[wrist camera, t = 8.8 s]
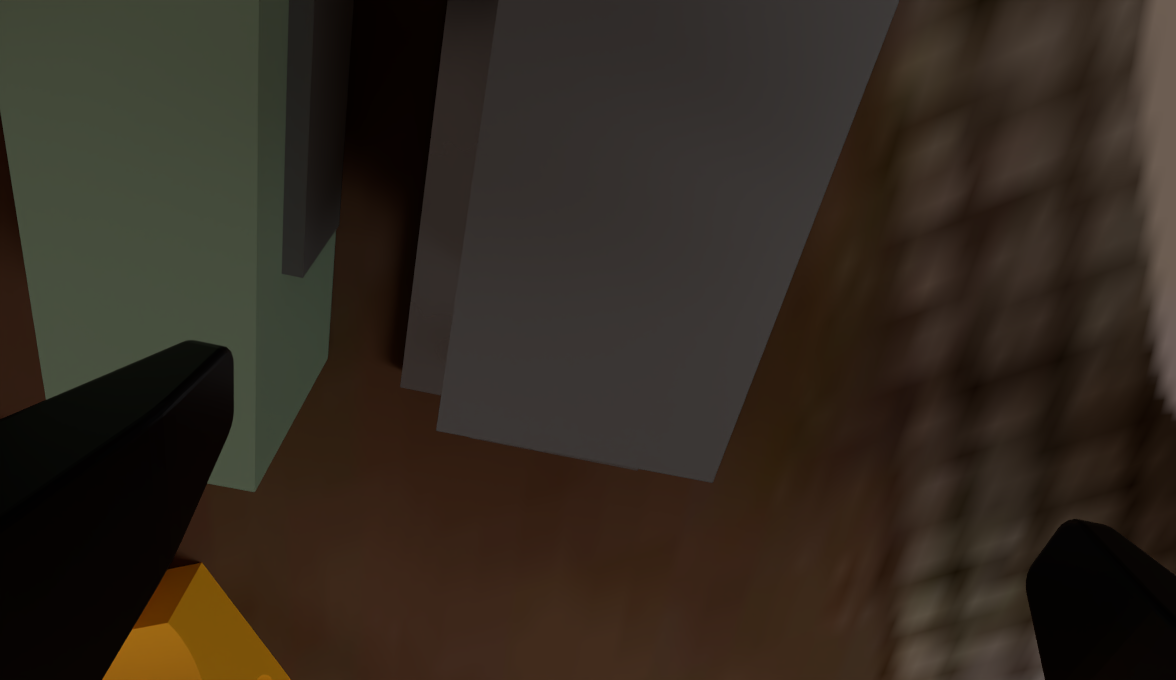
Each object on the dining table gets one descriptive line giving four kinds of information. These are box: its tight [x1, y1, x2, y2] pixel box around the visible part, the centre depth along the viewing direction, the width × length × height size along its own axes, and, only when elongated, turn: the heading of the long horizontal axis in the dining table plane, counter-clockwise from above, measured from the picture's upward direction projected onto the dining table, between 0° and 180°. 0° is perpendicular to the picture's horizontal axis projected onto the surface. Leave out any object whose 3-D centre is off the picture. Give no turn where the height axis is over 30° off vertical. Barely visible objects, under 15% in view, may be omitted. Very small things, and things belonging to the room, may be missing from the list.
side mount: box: [400, 0, 638, 471], centre depth 17 cm, size 8×16×3 cm, turn 168°
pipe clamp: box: [102, 563, 291, 680], centre depth 24 cm, size 12×4×6 cm, turn 17°
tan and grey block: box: [436, 0, 899, 483], centre depth 15 cm, size 5×9×6 cm, turn 168°
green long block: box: [0, 0, 354, 492], centre depth 15 cm, size 4×16×5 cm, turn 168°
